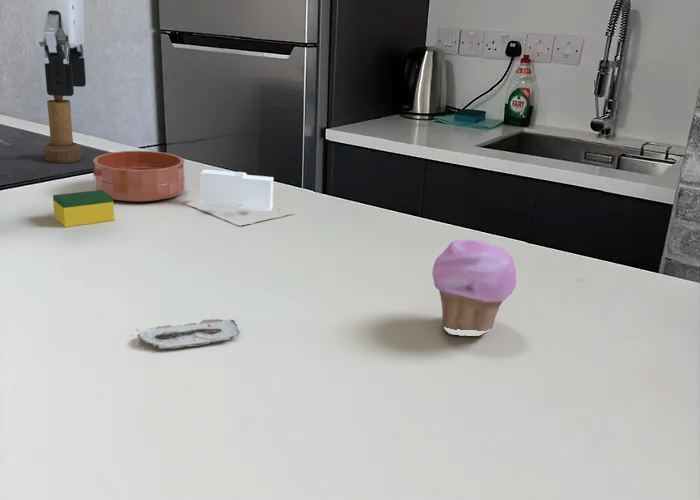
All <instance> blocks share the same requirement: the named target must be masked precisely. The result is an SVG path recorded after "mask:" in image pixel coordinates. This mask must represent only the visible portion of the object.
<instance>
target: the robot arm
mask: <svg viewBox="0 0 700 500" xmlns="http://www.w3.org/2000/svg"><path fill="white" fill-rule="evenodd" d="M32 12H33V13H32V14H33V34H34V35H33V37H34V38H33V39H34V43H35V44H36V45H37V46H38V47H41V48H42V47H43V49H44V58H43V59H44V74H45V75H44V76H45V84H46V85H45V86H46V93H47V95H48V96H63V97H72V96H74V94H75V91H74V87H78V88H79V87H81V88H84V87H86V85H87V79H86V65H85V63H86V61H85V57H84V49H83V44H84V43H85V41H86V21H85V20H86V19H85V4H84V0H32Z"/></svg>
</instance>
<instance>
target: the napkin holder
mask: <svg viewBox="0 0 700 500" xmlns="http://www.w3.org/2000/svg"><path fill="white" fill-rule="evenodd" d="M199 176H200V177H199V178H200V180H199V185H200V186H199V187H200V193H199V194H200V197H199V198H200V199H199V200H200V205H207V206H218V207H237V208H238V209H241V210H253V211H271V209H272V207H273V206H274V179H275V177H274V176H265V175H253V174H252V175H251V174H247V172H244V171H227V170H215V169H203V170H202V171H201V172H200V174H199Z"/></svg>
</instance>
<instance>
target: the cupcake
mask: <svg viewBox="0 0 700 500" xmlns="http://www.w3.org/2000/svg"><path fill="white" fill-rule="evenodd" d="M516 269H517V268H516V265H515V262H514V259H513V256H512V255H511V253H510V252H509V251H507V250H506V249H505V248H503V247H500V246H497V245H493V244H490V243H488V242H485V241H482V240H476V239H467V238H464V239H463V238H461V239H460V238H459V239H456V240H453V241H451V242H450V243H449V245H448V246H447V247H446V248H445V249H444V250H443V251H442V253H441V254H440V253H439V255H438V256H436V258H435V261H434V264H433V267H432V271H431V275H432V279H433V284H434V287H435V288H436V289H437V290H438V292H439V296H440V300H441V301H440V302H441V310H442V312H441V313H442V314H441V324H442V327H443V326H444V327H446V328H450V329H454V330H457V329H460V330H477V331H487V330H488V329H490V328H491V327H492V328H493V327H494V323H495V319H496V317H497V314H498V312H499V308H500V306H501V305H502V303H503V302H504V301H506V300H507V299H508V298H509V297H510V296H511V295H512V294H513V292H514V291H515V289H516V286H517V271H516ZM492 328H491V329H492Z"/></svg>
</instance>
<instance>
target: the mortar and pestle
mask: <svg viewBox="0 0 700 500" xmlns="http://www.w3.org/2000/svg"><path fill="white" fill-rule="evenodd" d="M52 96H53V95H52ZM46 104H47V105H46V106H47V114H48V126H49V138H50V139H49V140H50V142H49V143H47V144H46V145H45V146H44V147H43V153H44V154H43V156H44V160H45V161H46V162H48V163H53V164H68V163H69V164H70V163H75V162H76V163H77V162H79V161H81V160H82V148H81V146H79V145H78V144H77V143H76V142H74V138H73V127H72V115H71V114H72V111H71V109H72V108H71V101H70V99H64V96H53V99H49V100H47V101H46Z"/></svg>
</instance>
